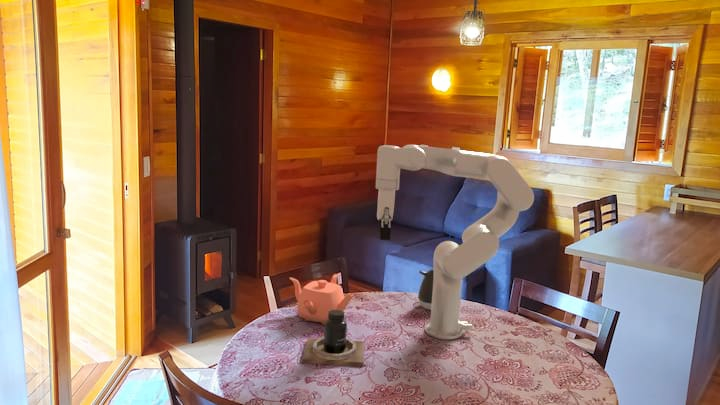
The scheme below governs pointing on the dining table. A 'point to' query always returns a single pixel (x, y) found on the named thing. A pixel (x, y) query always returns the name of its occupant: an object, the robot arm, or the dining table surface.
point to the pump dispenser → (426, 289)
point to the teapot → (320, 299)
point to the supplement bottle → (335, 332)
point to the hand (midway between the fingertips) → (384, 235)
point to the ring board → (319, 356)
